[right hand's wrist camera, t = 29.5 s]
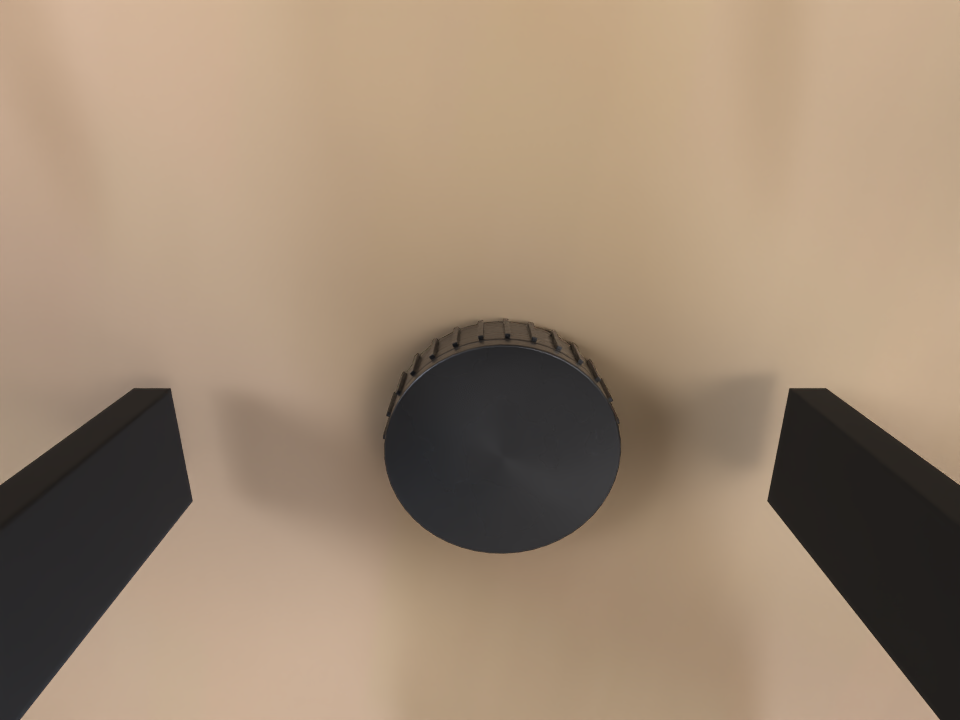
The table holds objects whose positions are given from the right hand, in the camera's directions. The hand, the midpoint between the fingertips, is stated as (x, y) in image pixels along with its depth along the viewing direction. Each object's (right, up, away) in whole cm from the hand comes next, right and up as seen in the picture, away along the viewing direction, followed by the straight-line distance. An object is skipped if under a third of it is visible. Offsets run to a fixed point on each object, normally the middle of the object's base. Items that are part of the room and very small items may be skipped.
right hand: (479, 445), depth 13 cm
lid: (0, 0, 0) cm, 1 cm away
